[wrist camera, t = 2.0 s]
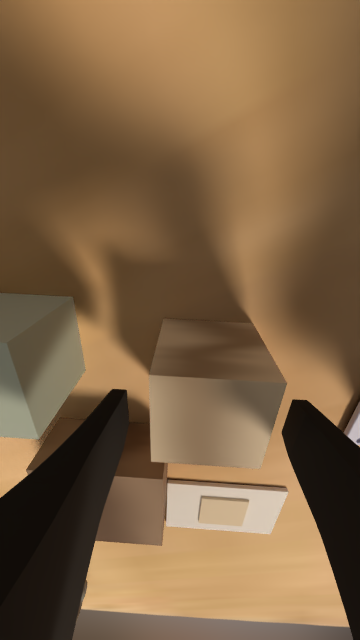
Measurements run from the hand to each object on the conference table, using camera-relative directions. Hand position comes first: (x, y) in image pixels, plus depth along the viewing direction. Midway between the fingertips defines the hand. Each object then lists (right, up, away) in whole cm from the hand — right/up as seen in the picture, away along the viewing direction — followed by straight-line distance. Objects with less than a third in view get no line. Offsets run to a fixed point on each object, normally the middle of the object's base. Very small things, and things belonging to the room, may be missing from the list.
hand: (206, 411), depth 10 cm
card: (+3, -13, +10) cm, 17 cm away
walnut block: (-6, -7, +8) cm, 12 cm away
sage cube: (-10, +3, +4) cm, 11 cm away
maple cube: (0, +2, +4) cm, 4 cm away
